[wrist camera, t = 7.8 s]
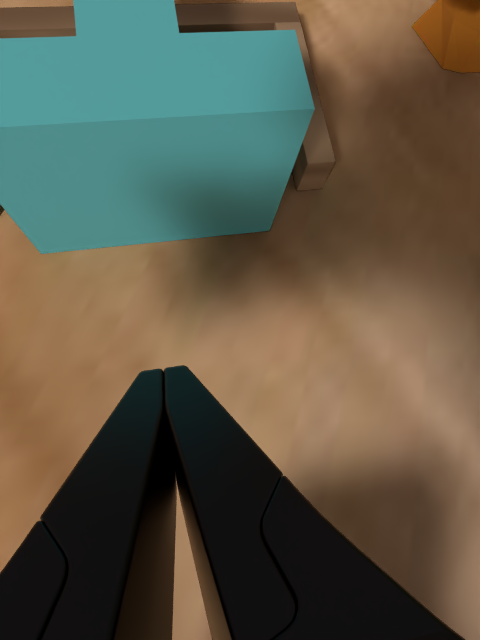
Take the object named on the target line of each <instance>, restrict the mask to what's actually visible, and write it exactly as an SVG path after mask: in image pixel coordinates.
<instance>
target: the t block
mask: <svg viewBox="0 0 480 640" xmlns="http://www.w3.org/2000/svg"><path fill="white" fill-rule="evenodd" d="M73 2H74V14H75V26H76V36H67V37H34V38H0V205H1V206H2V207H3V208H4V209H5V211H6V212H7V213H8V214H9V215H10V217H11V218H12V219H13V220H14V221H15V223H16V224H17V225H18V226H19V228H20V229H21V230H22V231H23V232H24V234H25V235H26V236H27V237H28V238H29V240H30V241H31V242H32V243H33V244H34V246H35V247H36V248H37V249H38V251H39V252H40V253H41V254H44V253H54V252H64V251H74V250H84V249H94V248H104V247H114V246H124V245H133V244H143V243H153V242H163V241H173V240H183V239H193V238H203V237H213V236H222V235H232V234H242V233H252V232H262V231H270V228H271V226H272V223H273V220H274V218H275V215H276V212H277V209H278V207H279V204H280V201H281V199H282V196H283V193H284V191H285V188H286V185H287V182H288V180H289V177H290V174H291V172H292V169H293V166H294V164H295V161H296V158H297V155H298V153H299V150H300V147H301V145H302V142H303V139H304V137H305V134H306V131H307V129H308V126H309V123H310V120H311V118H312V115H313V112H314V110H315V108H314V104H313V100H312V96H311V91H310V87H309V83H308V79H307V75H306V71H305V67H304V63H303V59H302V55H301V51H300V47H299V43H298V39H297V35H296V31H295V30H268V31H235V32H201V33H179V28H178V22H177V16H176V10H175V4H174V0H73Z"/></svg>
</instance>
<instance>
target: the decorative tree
mask: <svg viewBox="0 0 480 640" xmlns="http://www.w3.org/2000/svg"><path fill="white" fill-rule="evenodd" d="M412 27H413V29H414V30H415V32H416V33H417V34H418V36H419V37H420V38H421V40H422V41H423V42H424V44H425V45H426V47H427V48H428V49H429V51H430V52H431V53H432V55H433V56H434V57H435V59H436V60H437V61H438V63H439V64H440V66H441V67H442V68H443V69H447V70H451V71H455V72H459V73H467V72H480V0H438V1H437V2H436V3H435V4H434V5H433V6H432V7H431V8H430V9H429V10H428V11H427V12H425V13H424V14H423V15H422V16H421V17H420V18H419V19H418V20H417V21H416V22H415V23H414V24H413V25H412Z"/></svg>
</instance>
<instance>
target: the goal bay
mask: <svg viewBox="0 0 480 640" xmlns="http://www.w3.org/2000/svg"><path fill="white" fill-rule="evenodd" d="M175 10H176V16H177V22H178V28H179V33H201V32H235V31H268V30H295V31H296V35H297V39H298V43H299V47H300V51H301V55H302V59H303V63H304V67H305V71H306V75H307V79H308V83H309V87H310V91H311V96H312V100H313V104H314V108H315V110H314V112H313V115H312V118H311V120H310V123H309V126H308V129H307V131H306V134H305V137H304V139H303V142H302V145H301V147H300V150H299V153H298V155H297V158H296V161H295V164H294V166H293V169H292V173H293V177H294V182H295V186H296V191H301V190H313V189H322V187H323V185H324V183H325V181H326V179H327V177H328V175H329V173H330V171H331V169H332V168H333V166H334V164H335V162H336V161H335V157H334V153H333V149H332V145H331V141H330V137H329V133H328V129H327V126H326V122H325V118H324V114H323V110H322V106H321V102H320V98H319V94H318V90H317V86H316V82H315V78H314V74H313V70H312V66H311V62H310V58H309V54H308V50H307V46H306V43H305V39H304V35H303V31H302V27H301V23H300V19H299V15H298V11H297V7H296V3H295V2H268V3H217V4H175ZM67 36H76V26H75V14H74V6H66V7H16V8H0V38H34V37H67Z"/></svg>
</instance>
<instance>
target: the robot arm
mask: <svg viewBox="0 0 480 640" xmlns="http://www.w3.org/2000/svg"><path fill="white" fill-rule="evenodd" d="M176 480H177V486H178V491H179V496H180V501H181V505H182V510H183V514H184V518H185V523H186V527H187V532H188V536H189V540H190V545H191V549H192V553H193V558H194V562H195V566H196V571H197V575H198V580H199V584H200V588H201V593H202V597H203V601H204V606H205V610H206V614H207V619H208V623H209V628H210V632H211V636H212V640H465V639H464V638H463V637H461V636H460V635H459V634H457V633H456V632H455V631H453V630H452V629H450V628H449V627H448V626H447V625H446V624H444V623H443V622H442V621H441V620H440V619H439V618H437V617H436V616H435V615H434V614H433V613H432V612H430V611H429V610H428V609H427V608H426V607H425V606H424V605H422V604H421V603H420V602H419V601H418V600H417V599H416V598H414V597H413V596H412V595H411V594H410V593H409V592H408V591H406V590H405V589H404V588H403V587H402V586H401V585H400V584H398V583H397V582H396V581H395V580H394V579H393V578H392V577H390V576H389V575H388V574H387V573H386V572H385V571H384V570H382V569H381V568H380V567H379V566H378V565H377V564H376V563H374V562H373V561H372V560H371V559H370V558H369V557H368V556H366V555H365V554H364V553H363V552H362V551H361V550H360V549H358V548H357V547H356V546H355V545H354V544H353V543H352V542H351V541H350V540H348V539H347V538H346V537H345V536H344V535H343V534H342V533H341V532H340V531H339V530H338V529H336V528H335V527H334V526H333V525H332V524H331V523H330V522H329V521H328V520H327V519H326V518H324V517H323V515H322V514H321V513H320V512H319V511H318V510H317V509H316V508H315V507H314V506H313V505H312V504H311V503H310V502H309V501H308V500H307V499H306V498H305V497H304V496H303V495H302V494H301V493H300V492H299V490H298V489H297V488H296V487H295V486H294V485H293V484H292V483H291V481H290V480H289V479H288V478H287V477H286V476H283V474H282V472H281V471H280V470H279V468H278V467H277V466H276V465H275V464H274V463H273V462H272V461H271V460H270V458H269V457H268V456H267V455H266V454H265V453H264V452H263V451H262V450H261V448H260V447H259V446H258V445H257V444H256V443H255V442H254V441H253V440H252V438H251V437H250V436H249V435H248V434H247V433H246V432H245V431H244V430H243V428H242V427H241V426H240V425H239V424H238V423H237V422H236V421H235V420H234V418H233V417H232V416H231V415H230V414H229V413H228V412H227V411H226V410H225V408H224V407H223V406H222V405H221V404H220V403H219V402H218V401H217V400H216V398H215V397H214V396H213V395H212V394H211V393H210V392H209V391H208V390H207V388H206V387H205V386H204V385H203V384H202V383H201V382H200V381H199V380H198V378H197V377H196V376H195V375H194V374H193V373H192V372H191V371H190V370H189V368H188V367H187V366H184V365H182V366H175V367H168V368H166V369H165V370H164V372H163V370H162V369H154V370H146V371H142V372H140V373H139V374H138V376H137V377H136V379H135V380H134V382H133V383H132V384H131V386H130V387H129V389H128V390H127V392H126V393H125V395H124V396H123V398H122V399H121V400H120V402H119V403H118V405H117V406H116V408H115V409H114V411H113V412H112V414H111V415H110V416H109V418H108V419H107V421H106V422H105V424H104V425H103V427H102V428H101V430H100V431H99V432H98V434H97V435H96V437H95V438H94V440H93V441H92V443H91V444H90V445H89V447H88V448H87V450H86V451H85V453H84V454H83V456H82V457H81V459H80V460H79V461H78V463H77V464H76V466H75V467H74V469H73V470H72V472H71V473H70V475H69V476H68V477H67V479H66V480H65V482H64V483H63V485H62V486H61V488H60V489H59V491H58V492H57V493H56V495H55V496H54V498H53V499H52V501H51V502H50V504H49V505H48V507H47V508H46V509H45V511H44V512H43V514H42V515H41V517H40V519H41V521H37V522H36V524H35V525H34V526H33V528H32V529H31V531H30V532H29V534H28V535H27V537H26V538H25V540H24V541H23V542H22V544H21V545H20V547H19V548H18V549H17V551H16V552H15V554H14V555H13V556H12V558H11V559H10V560H9V562H8V563H7V565H6V566H5V567H4V569H3V570H2V571H1V573H0V640H172V623H173V592H174V562H175V531H176V500H177V486H176Z"/></svg>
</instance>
